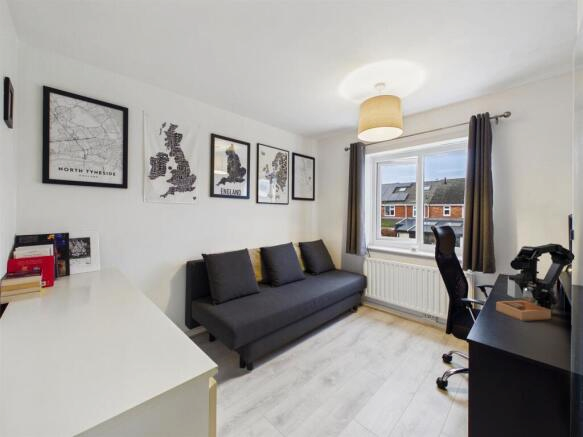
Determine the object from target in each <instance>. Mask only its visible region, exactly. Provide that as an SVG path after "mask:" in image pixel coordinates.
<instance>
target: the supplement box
mask: <svg viewBox="0 0 583 437" xmlns="http://www.w3.org/2000/svg"><path fill="white" fill-rule="evenodd" d="M507 295H508V296H509V297H512V298H514V299H522V300H523V294H522V292H521V289H520V287H519V285H518V284H517V283H515V282H514V281H512V280H509V276H508V277H507Z"/></svg>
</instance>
